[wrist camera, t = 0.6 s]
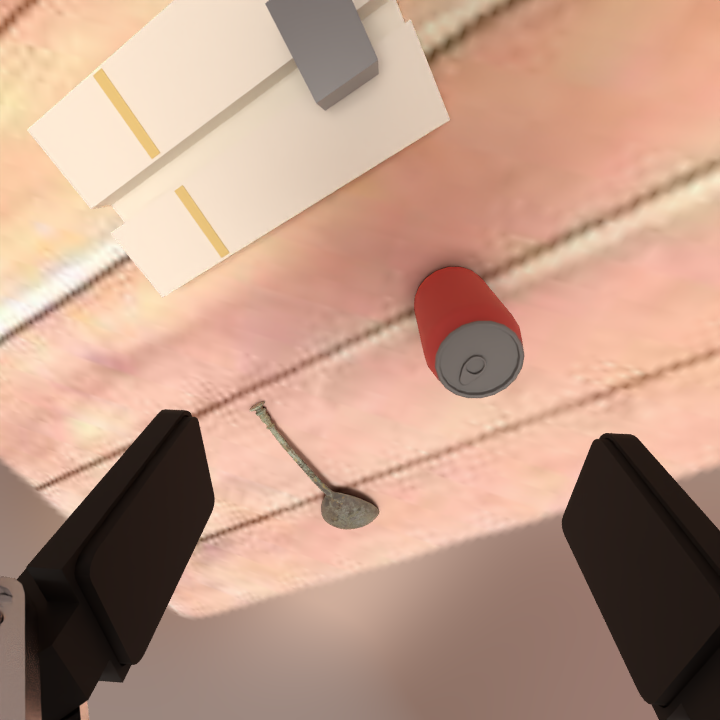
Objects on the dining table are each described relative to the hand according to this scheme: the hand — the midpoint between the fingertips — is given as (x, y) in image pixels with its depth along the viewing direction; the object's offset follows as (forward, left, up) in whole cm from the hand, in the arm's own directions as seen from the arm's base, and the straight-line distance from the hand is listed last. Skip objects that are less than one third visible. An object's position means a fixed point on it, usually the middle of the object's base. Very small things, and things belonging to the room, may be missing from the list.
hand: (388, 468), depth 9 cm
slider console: (+5, -13, -27) cm, 30 cm away
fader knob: (-3, -13, -25) cm, 29 cm away
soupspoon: (+19, +19, -28) cm, 38 cm away
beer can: (-3, +7, -27) cm, 28 cm away
